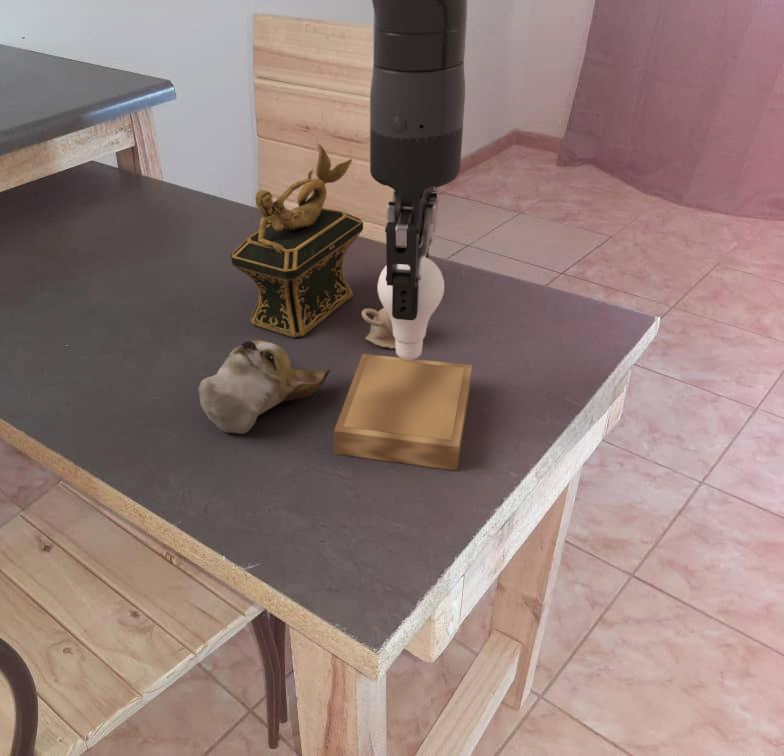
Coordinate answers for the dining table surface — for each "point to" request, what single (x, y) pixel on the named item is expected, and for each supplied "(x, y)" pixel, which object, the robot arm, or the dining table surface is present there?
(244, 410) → the ceramic sculpture
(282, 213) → the decorative box
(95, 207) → the dining table surface
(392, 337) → the decorative ornament
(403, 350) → the lightbulb
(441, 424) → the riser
